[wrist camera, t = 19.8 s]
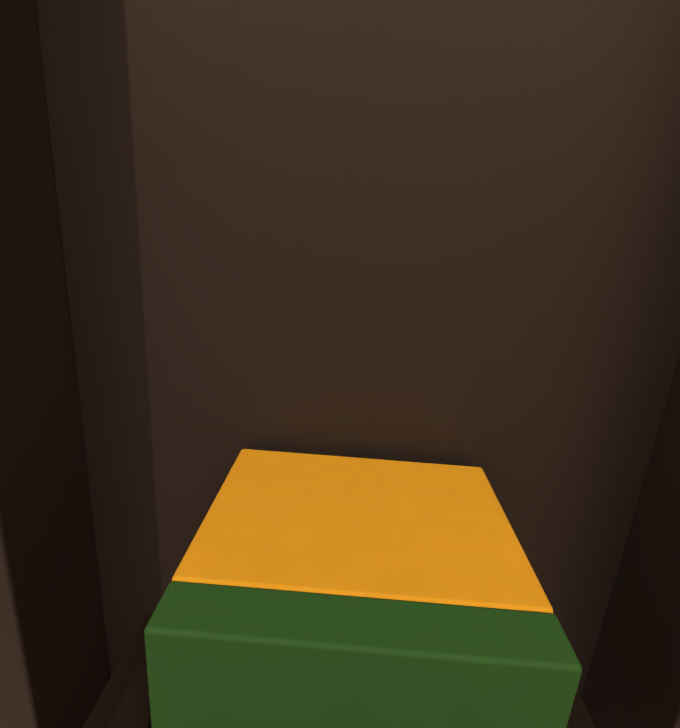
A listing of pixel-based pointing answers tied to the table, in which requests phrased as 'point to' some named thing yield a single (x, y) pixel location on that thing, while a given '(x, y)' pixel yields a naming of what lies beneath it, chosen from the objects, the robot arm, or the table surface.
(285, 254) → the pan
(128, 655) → the robot arm
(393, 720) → the sponge
